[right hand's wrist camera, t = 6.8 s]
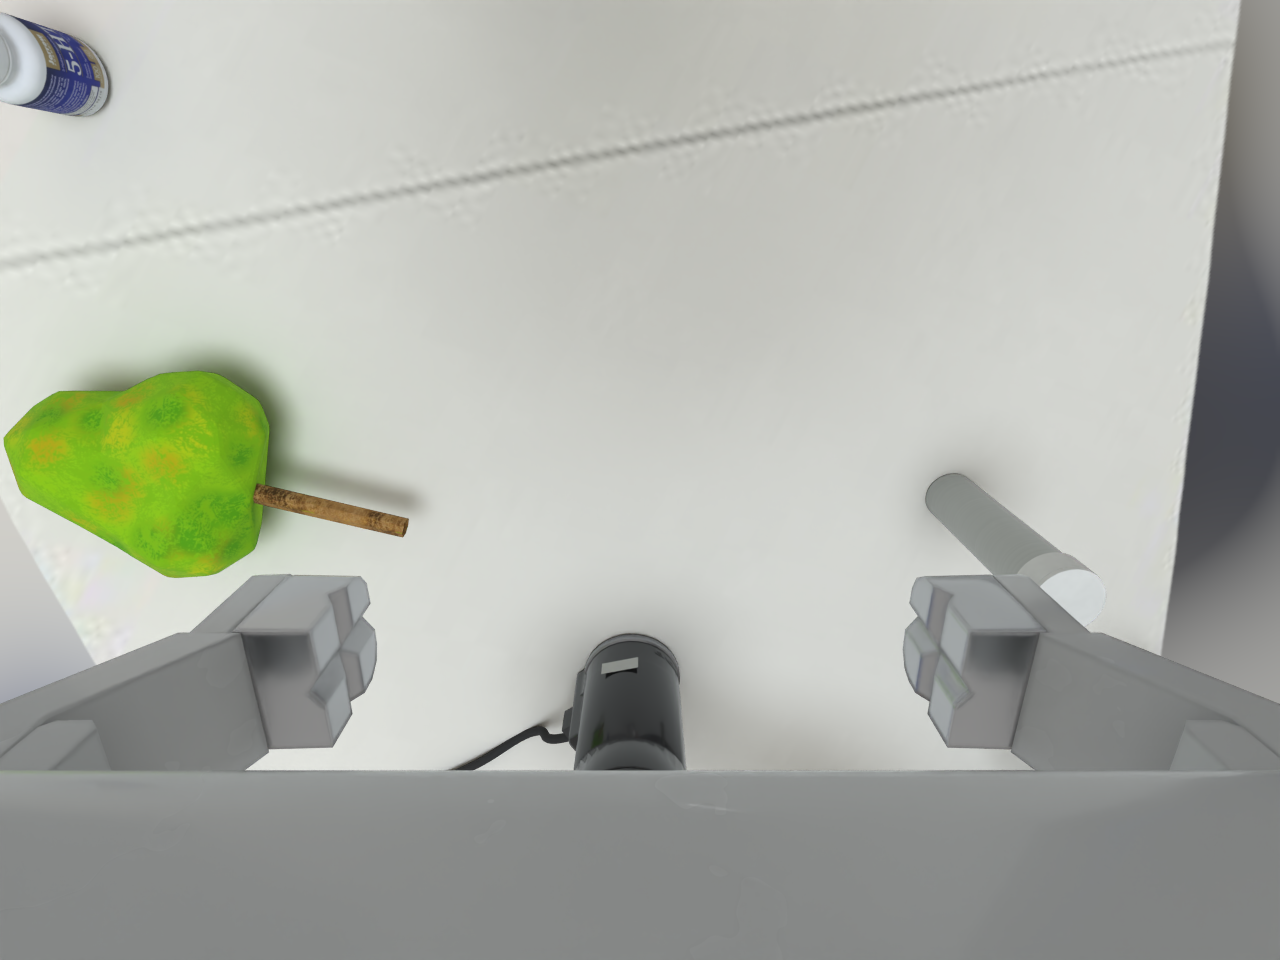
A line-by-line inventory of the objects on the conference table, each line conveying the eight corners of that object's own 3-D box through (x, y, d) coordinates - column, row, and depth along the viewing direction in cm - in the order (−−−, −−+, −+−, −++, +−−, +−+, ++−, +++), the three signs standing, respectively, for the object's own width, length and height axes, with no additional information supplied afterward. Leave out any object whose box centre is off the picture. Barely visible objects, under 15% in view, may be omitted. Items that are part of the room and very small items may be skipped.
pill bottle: (125, 78, 50) (21, 49, 41) (86, 133, 51) (-22, 116, 43) (58, 15, 48) (-63, -27, 40) (21, 74, 49) (-104, 44, 41)
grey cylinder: (983, 483, 61) (1112, 582, 44) (957, 524, 62) (1073, 634, 46) (941, 466, 60) (1055, 560, 44) (916, 508, 62) (1018, 614, 45)
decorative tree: (370, 648, 55) (-29, 565, 52) (408, 582, 65) (74, 508, 62) (402, 449, 49) (-50, 338, 46) (439, 409, 59) (68, 314, 55)
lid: (1098, 565, 46) (1122, 584, 44) (1057, 622, 48) (1078, 642, 45) (1037, 542, 45) (1058, 559, 43) (998, 600, 47) (1016, 619, 45)
